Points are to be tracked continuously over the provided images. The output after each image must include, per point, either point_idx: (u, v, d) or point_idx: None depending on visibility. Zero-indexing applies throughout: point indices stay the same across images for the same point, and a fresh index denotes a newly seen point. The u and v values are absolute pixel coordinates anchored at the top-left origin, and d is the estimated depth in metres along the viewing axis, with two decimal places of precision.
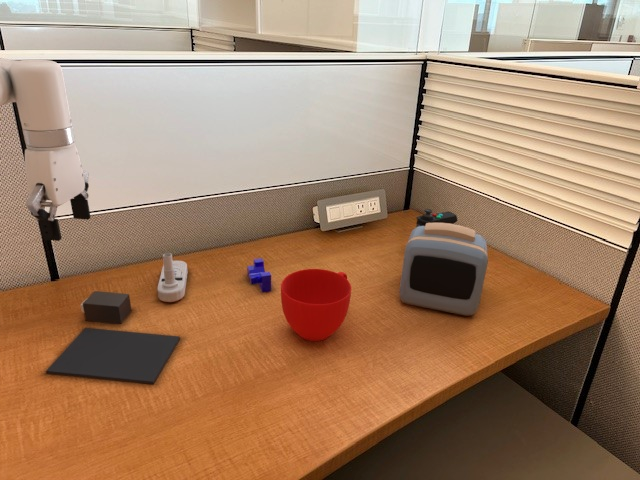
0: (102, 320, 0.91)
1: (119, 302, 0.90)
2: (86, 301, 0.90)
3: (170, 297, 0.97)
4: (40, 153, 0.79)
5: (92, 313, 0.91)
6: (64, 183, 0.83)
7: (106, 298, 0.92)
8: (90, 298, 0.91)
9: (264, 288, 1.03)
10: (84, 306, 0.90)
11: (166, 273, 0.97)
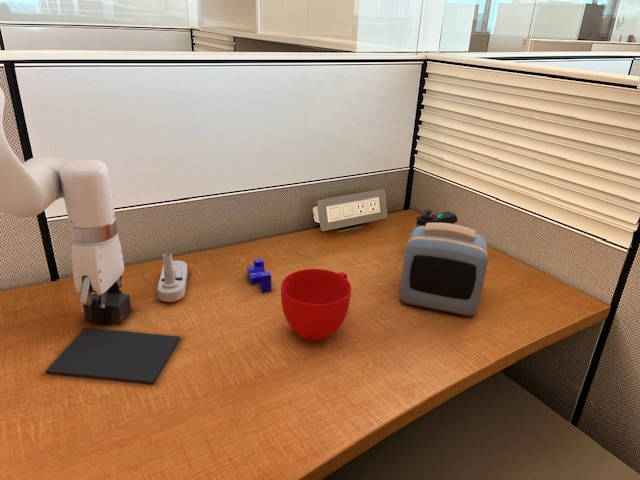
0: None
1: (119, 302, 0.90)
2: None
3: (170, 297, 0.97)
4: (86, 248, 0.82)
5: None
6: (107, 272, 0.87)
7: (106, 298, 0.92)
8: None
9: (264, 288, 1.03)
10: (84, 306, 0.90)
11: (166, 273, 0.97)
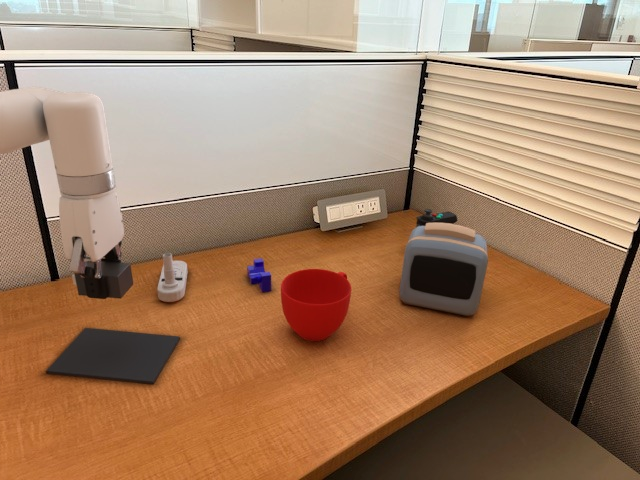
0: None
1: (118, 272, 0.75)
2: None
3: (170, 297, 0.97)
4: (77, 202, 0.67)
5: None
6: (103, 234, 0.71)
7: (103, 268, 0.76)
8: None
9: (264, 288, 1.03)
10: (76, 277, 0.74)
11: (166, 273, 0.97)
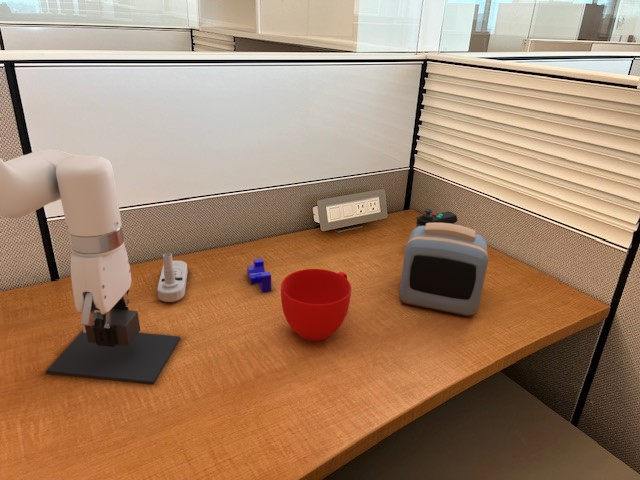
0: None
1: (126, 321, 0.78)
2: None
3: (170, 297, 0.97)
4: (88, 260, 0.70)
5: None
6: (112, 287, 0.74)
7: (111, 316, 0.79)
8: None
9: (264, 288, 1.03)
10: (86, 326, 0.78)
11: (166, 273, 0.97)
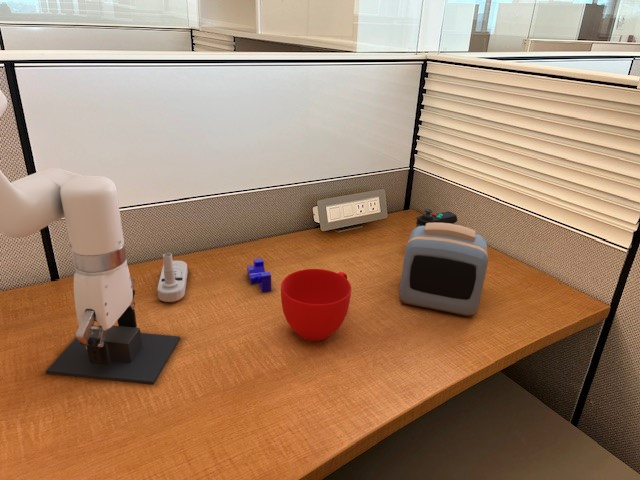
0: None
1: (128, 339, 0.80)
2: None
3: (170, 297, 0.97)
4: (91, 278, 0.72)
5: None
6: (114, 304, 0.76)
7: (114, 333, 0.81)
8: (96, 333, 0.81)
9: (264, 288, 1.03)
10: None
11: (166, 273, 0.97)
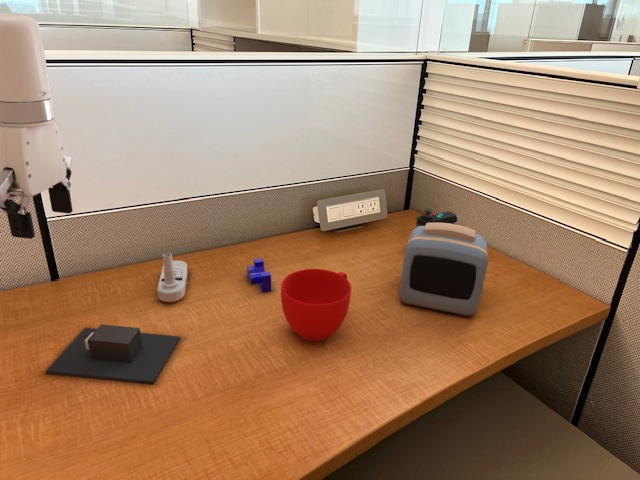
0: (109, 358, 0.80)
1: (128, 339, 0.80)
2: (91, 337, 0.80)
3: (170, 297, 0.97)
4: (9, 130, 0.63)
5: (98, 350, 0.80)
6: (39, 169, 0.68)
7: (114, 333, 0.81)
8: (96, 333, 0.81)
9: (264, 288, 1.03)
10: (89, 343, 0.79)
11: (166, 273, 0.97)
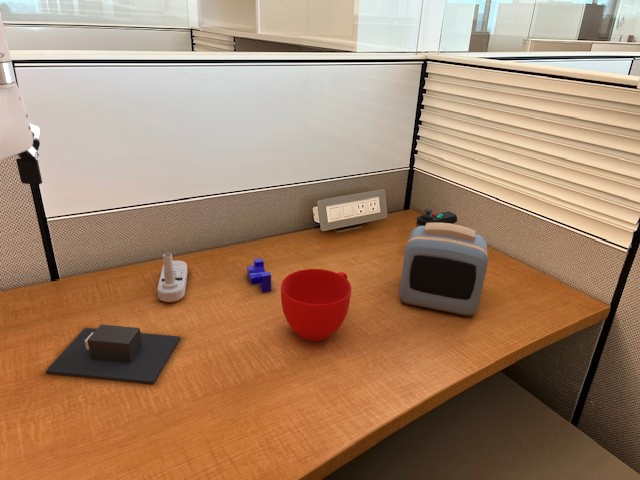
0: (109, 358, 0.80)
1: (128, 339, 0.80)
2: (91, 337, 0.80)
3: (170, 297, 0.97)
4: None
5: (98, 350, 0.80)
6: (1, 134, 0.67)
7: (114, 333, 0.81)
8: (96, 333, 0.81)
9: (264, 288, 1.03)
10: (89, 343, 0.79)
11: (166, 273, 0.97)
